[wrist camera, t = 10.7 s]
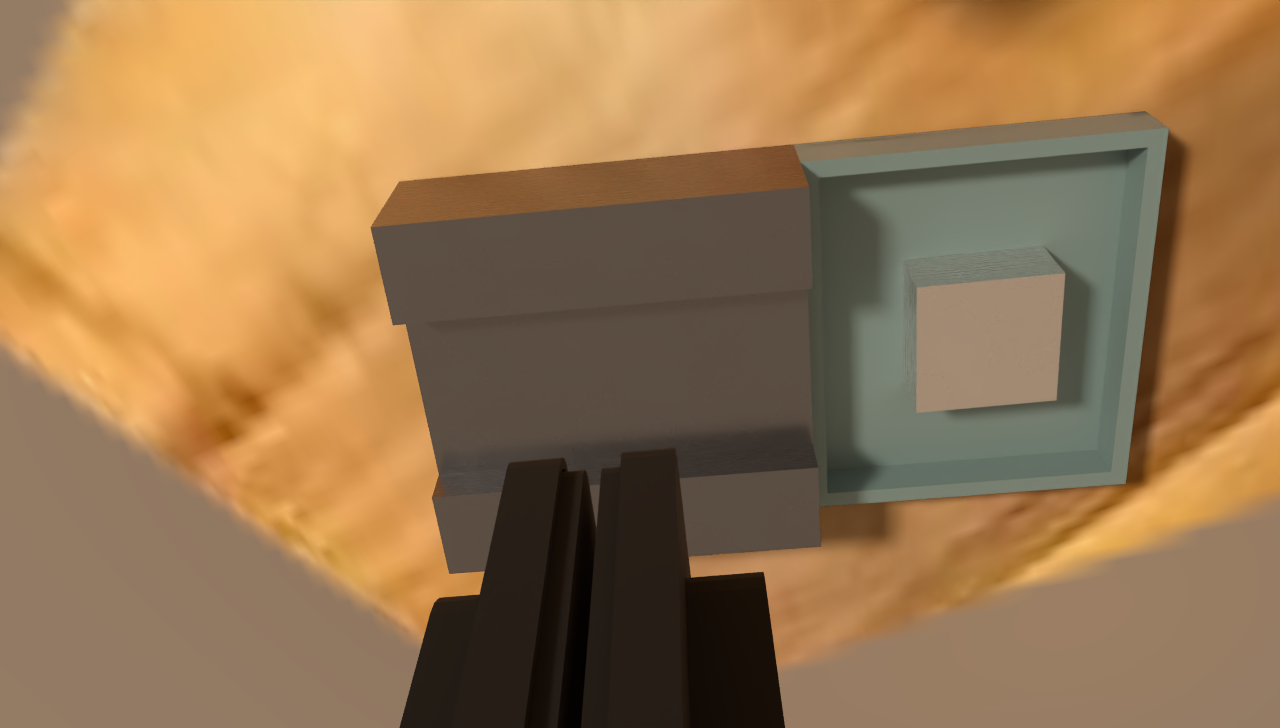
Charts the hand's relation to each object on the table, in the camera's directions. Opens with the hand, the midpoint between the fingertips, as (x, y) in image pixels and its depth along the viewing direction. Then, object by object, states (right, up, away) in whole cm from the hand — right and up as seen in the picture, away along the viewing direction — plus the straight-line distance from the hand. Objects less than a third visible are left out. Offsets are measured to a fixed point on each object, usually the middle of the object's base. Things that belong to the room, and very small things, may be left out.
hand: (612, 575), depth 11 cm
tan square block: (+13, +3, +28) cm, 31 cm away
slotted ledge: (-1, +3, +31) cm, 31 cm away
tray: (+12, +4, +31) cm, 33 cm away
